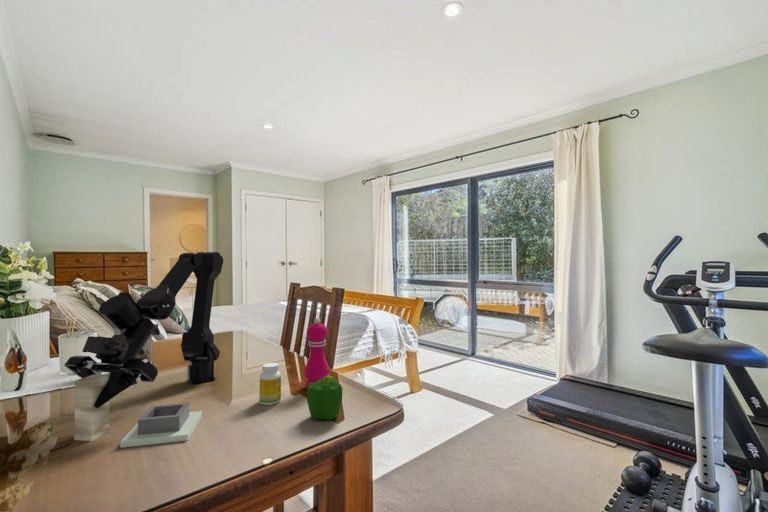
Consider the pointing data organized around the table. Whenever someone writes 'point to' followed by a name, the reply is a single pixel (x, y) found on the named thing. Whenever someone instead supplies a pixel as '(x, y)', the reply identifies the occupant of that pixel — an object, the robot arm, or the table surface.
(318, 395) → the bell pepper
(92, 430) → the plug block
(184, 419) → the socket holder
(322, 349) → the pepper mill
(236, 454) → the table surface
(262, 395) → the supplement bottle
